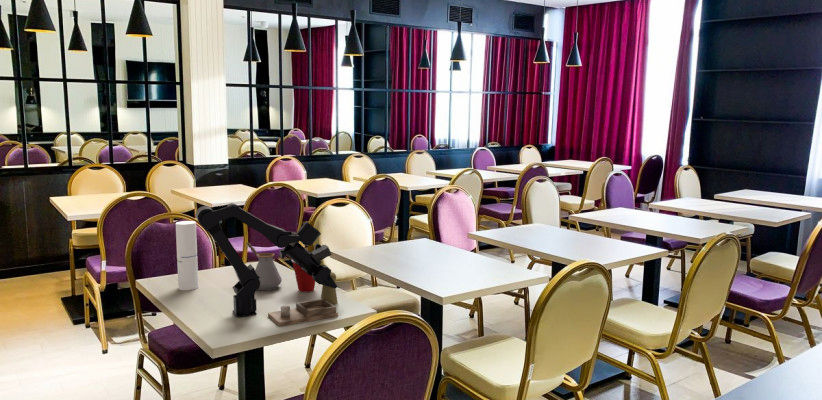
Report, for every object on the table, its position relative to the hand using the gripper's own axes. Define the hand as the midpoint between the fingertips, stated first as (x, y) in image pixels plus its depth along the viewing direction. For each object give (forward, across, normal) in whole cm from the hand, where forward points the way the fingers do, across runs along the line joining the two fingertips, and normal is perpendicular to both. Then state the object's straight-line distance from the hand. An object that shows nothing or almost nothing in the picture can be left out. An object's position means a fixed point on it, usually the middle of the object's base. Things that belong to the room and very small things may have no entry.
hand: (332, 283), depth 220 cm
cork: (+4, 0, +6) cm, 7 cm away
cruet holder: (-5, -10, +14) cm, 18 cm away
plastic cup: (+2, +19, +8) cm, 21 cm away
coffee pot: (-8, +32, +18) cm, 38 cm away
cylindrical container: (-27, +39, +36) cm, 59 cm away
